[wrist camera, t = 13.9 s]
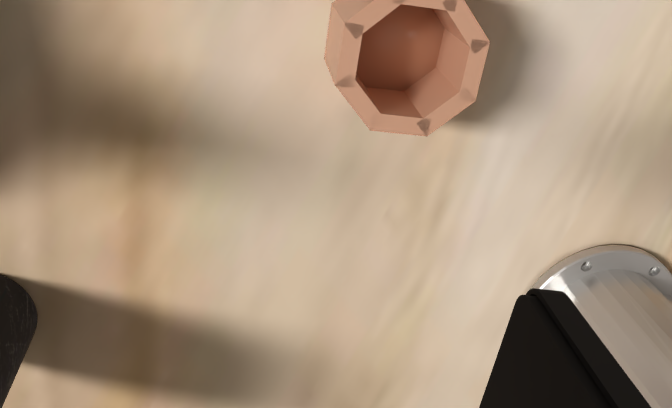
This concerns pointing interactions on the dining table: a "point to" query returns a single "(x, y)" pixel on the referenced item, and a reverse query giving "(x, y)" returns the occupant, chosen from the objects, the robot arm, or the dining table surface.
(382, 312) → the dining table surface
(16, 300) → the travel mug
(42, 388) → the dining table surface
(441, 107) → the cup
